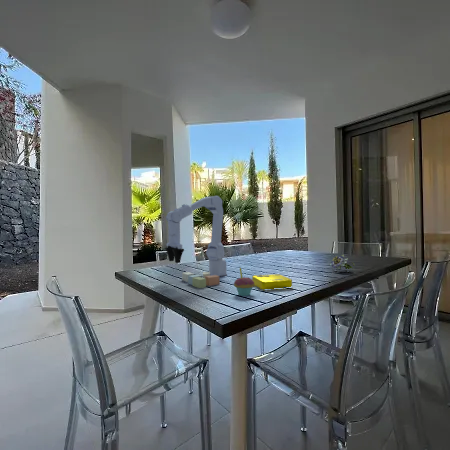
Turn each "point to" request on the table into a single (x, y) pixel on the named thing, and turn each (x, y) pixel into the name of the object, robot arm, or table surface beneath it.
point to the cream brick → (206, 274)
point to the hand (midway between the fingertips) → (174, 261)
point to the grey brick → (186, 276)
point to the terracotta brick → (212, 280)
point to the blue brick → (190, 278)
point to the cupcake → (244, 285)
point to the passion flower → (340, 262)
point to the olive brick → (199, 282)
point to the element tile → (271, 281)
